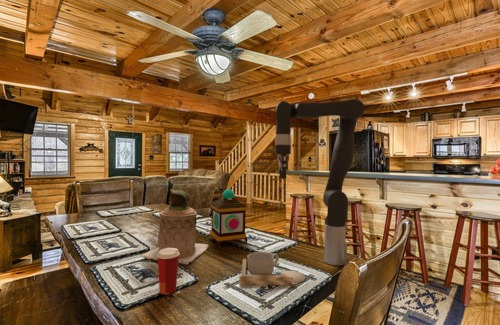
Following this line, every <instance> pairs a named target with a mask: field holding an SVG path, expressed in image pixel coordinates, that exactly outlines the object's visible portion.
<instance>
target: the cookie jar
mask: <svg viewBox="0 0 500 325" xmlns="http://www.w3.org/2000/svg"><path fill="white" fill-rule="evenodd" d="M169 196H170V197H169V201H170V206H168V207H167V208H165V210H162V211H159V217H160V224H159V228H158V229H159V230H158V237H157V243H158V247H156V248H154V249H151V250H149V251H147V252H145V253H142V256H141V257H143V259H144V258H146V259H145V260H151V259H153V260H152V261H158V257H157V256H156V255H157V254H158V252H159V251H160V250H161V249H165V248H176V249H178V251H179V253H180V254H179V259H178V264H182V265H189V263H193V262H194V261H195V260H196V259H197V258H198V257H199V256H200V255H202V254H203V253H204V252H205V251H207V250H208V249H209V244H207V243H197V242H196V241H197V236H198V231H197V221H198V219H197V215H198V213H197V211H196V210H195V209H194V208H193V207H190V206H189V203H188V202H190V201H191V200H192V197H191V195H190V194H189V193H187V192H186V191H185V190H183V189H182V190H180V189H177V190H174V189H172V188H170V195H169Z"/></svg>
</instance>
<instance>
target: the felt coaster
mask: <svg viewBox="0 0 500 325" xmlns="http://www.w3.org/2000/svg"><path fill="white" fill-rule="evenodd" d="M279 275H292V276H293V284H297V283H298V284H299V282H300V283H303V282H304V281H306V275H305V274H303V273H302V272H299V271H296V270H285V271H282V272H281V273H280V274H279ZM302 281H303V282H302Z"/></svg>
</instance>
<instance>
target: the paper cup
mask: <svg viewBox="0 0 500 325" xmlns="http://www.w3.org/2000/svg"><path fill="white" fill-rule="evenodd" d="M179 254H180V253H179V251H178V249H176V248H165V249H161V250H160V251H159V252H158V254H157V255H156V256H157V257H158V260H157V267H158V268H157V270H158V286H159V287H158V288H159V294H161V295H164V296H165V295H166V296H167V295H171V294H173V293H175V292H176V291H177V286H178V285H177V283H178V270H179V263H178V259H179Z"/></svg>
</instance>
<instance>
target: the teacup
mask: <svg viewBox="0 0 500 325" xmlns="http://www.w3.org/2000/svg"><path fill="white" fill-rule="evenodd" d="M246 256H247V258H246V259H247V271H248V272H249V275H273V274H272V273H273V272H274V269H275V268H274V267H275V265H276V264H278V262H279V261H280V260H279V258H280V257H279V255H278V254H277V252H276V253H270V252H266V251H256V252H255V251H254V252H251V253H249V254H247V255H246ZM274 257H275V259H274Z"/></svg>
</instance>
